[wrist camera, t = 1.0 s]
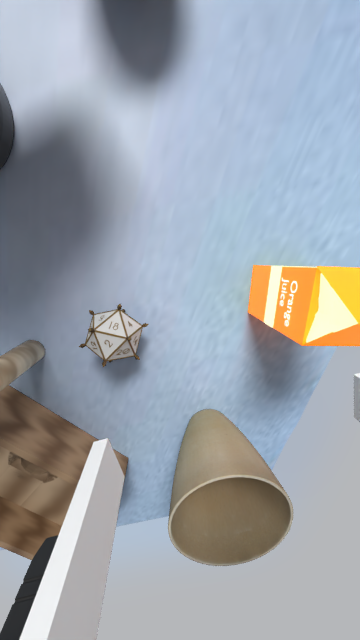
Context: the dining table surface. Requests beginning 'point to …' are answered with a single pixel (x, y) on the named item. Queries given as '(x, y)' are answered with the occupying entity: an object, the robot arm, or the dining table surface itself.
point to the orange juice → (308, 303)
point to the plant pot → (224, 496)
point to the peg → (19, 361)
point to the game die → (113, 335)
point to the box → (37, 471)
